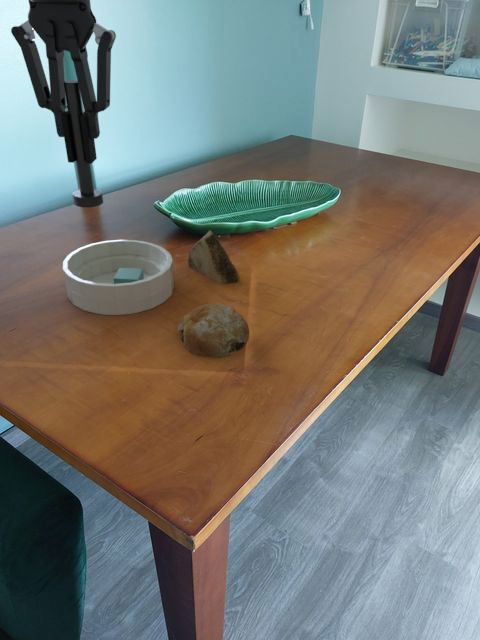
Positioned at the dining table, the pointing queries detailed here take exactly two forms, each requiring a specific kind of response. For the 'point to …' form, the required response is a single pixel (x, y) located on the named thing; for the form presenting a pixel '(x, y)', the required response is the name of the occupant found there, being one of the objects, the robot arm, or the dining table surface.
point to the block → (128, 275)
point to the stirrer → (80, 150)
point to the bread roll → (214, 331)
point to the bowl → (101, 267)
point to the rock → (212, 260)
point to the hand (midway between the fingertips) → (82, 160)
